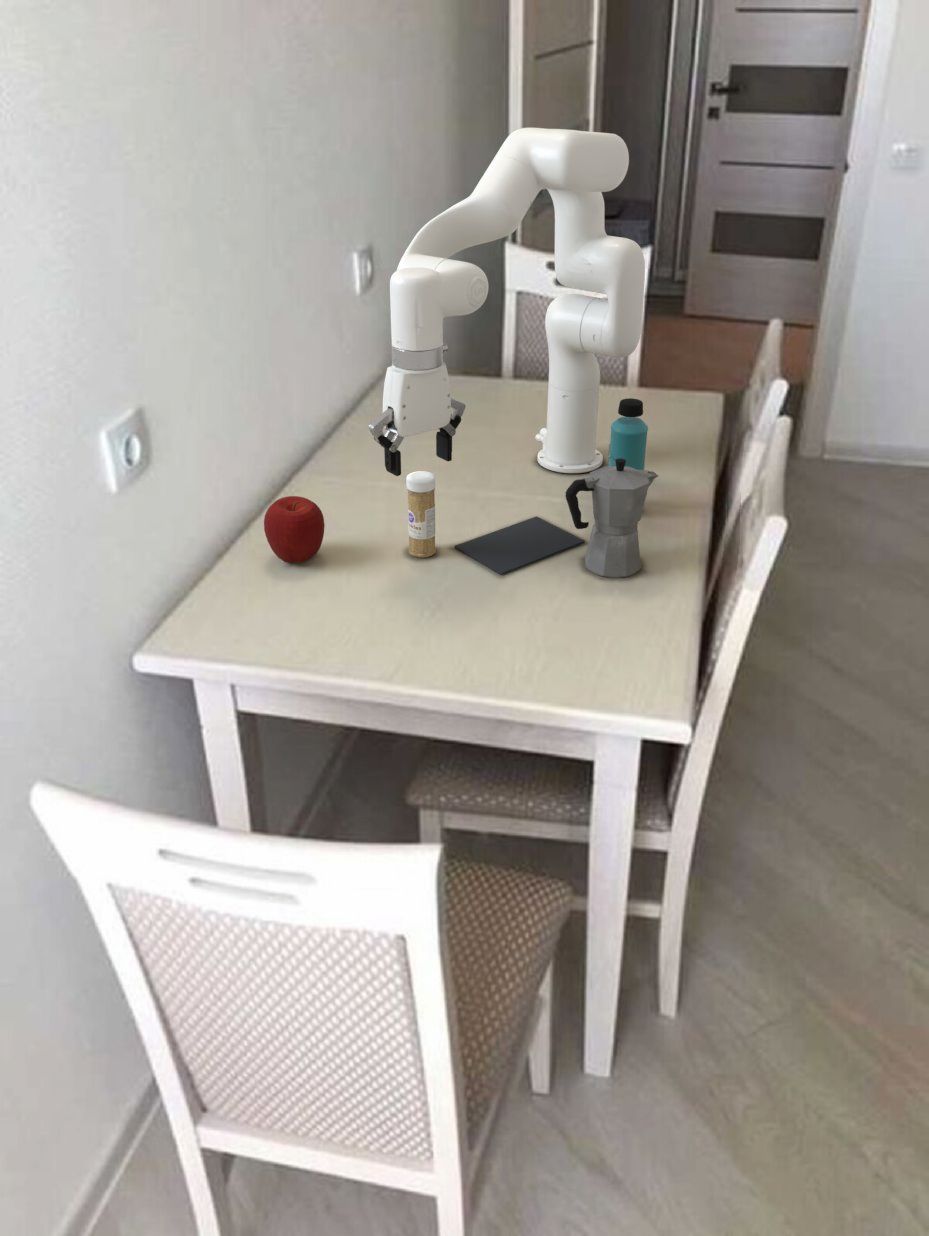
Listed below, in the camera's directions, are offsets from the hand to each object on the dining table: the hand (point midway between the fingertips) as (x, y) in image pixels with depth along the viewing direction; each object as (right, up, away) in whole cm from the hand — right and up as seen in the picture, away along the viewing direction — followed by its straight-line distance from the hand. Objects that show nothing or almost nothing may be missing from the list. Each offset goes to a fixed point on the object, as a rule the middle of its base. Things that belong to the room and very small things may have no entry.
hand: (419, 465), depth 164 cm
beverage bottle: (+35, -5, +22) cm, 41 cm away
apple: (-20, -14, +6) cm, 25 cm away
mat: (+16, -12, +10) cm, 22 cm away
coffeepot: (+30, -16, +4) cm, 34 cm away
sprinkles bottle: (0, -13, +8) cm, 15 cm away
